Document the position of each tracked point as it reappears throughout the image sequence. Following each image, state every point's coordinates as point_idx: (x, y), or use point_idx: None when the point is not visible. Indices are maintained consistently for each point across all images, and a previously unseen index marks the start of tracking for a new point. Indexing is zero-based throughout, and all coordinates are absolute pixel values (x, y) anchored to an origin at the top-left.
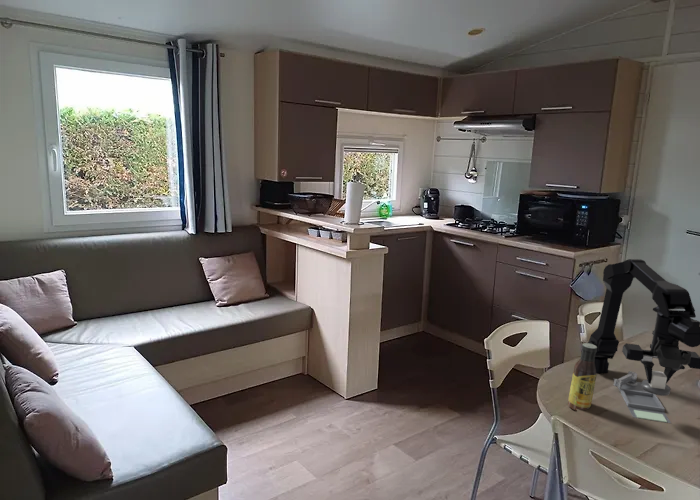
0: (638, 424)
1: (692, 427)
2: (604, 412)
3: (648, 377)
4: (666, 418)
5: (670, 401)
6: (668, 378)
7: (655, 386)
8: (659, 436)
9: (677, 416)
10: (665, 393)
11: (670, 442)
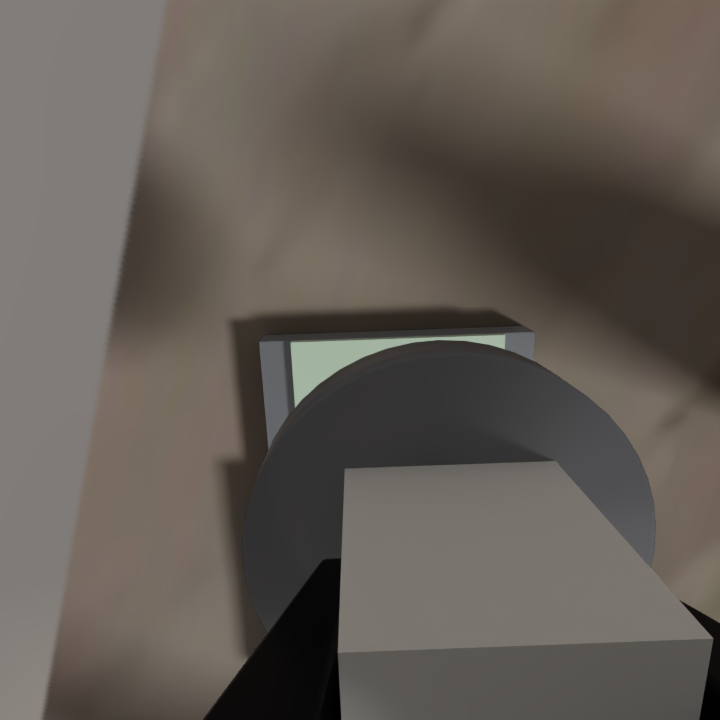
0: (491, 289)
1: (112, 387)
2: (693, 383)
3: (707, 616)
4: (279, 403)
5: (188, 688)
6: (280, 667)
7: (502, 473)
8: (381, 153)
9: (184, 507)
10: (349, 374)
11: (320, 83)
